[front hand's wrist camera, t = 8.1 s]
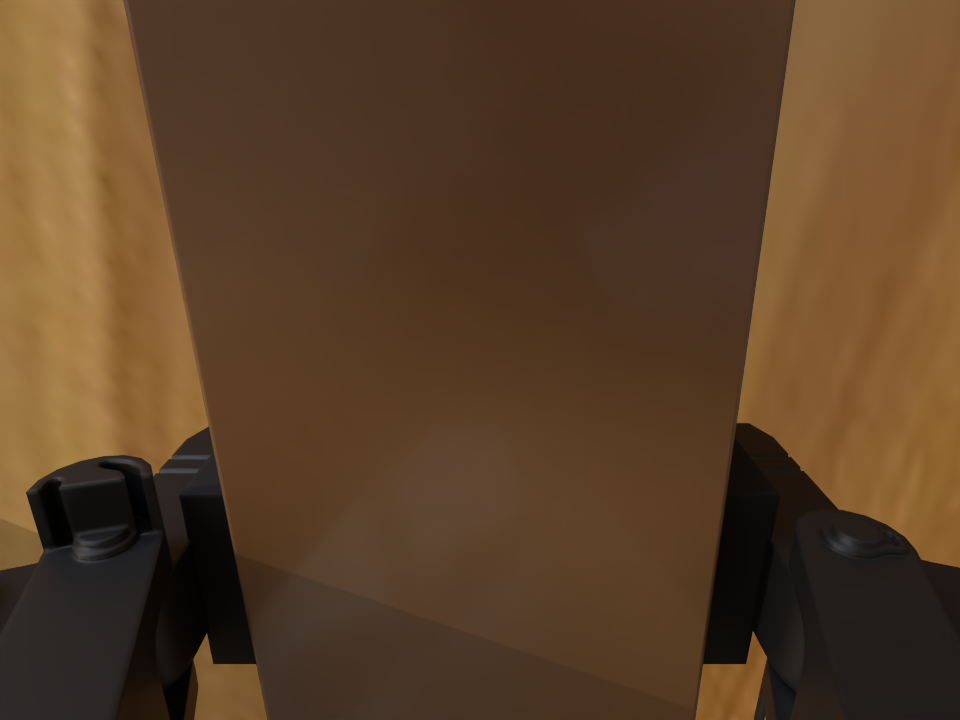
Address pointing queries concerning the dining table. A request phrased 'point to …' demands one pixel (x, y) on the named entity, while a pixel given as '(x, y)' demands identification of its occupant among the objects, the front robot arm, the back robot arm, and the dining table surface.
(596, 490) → the beam
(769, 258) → the dining table surface
